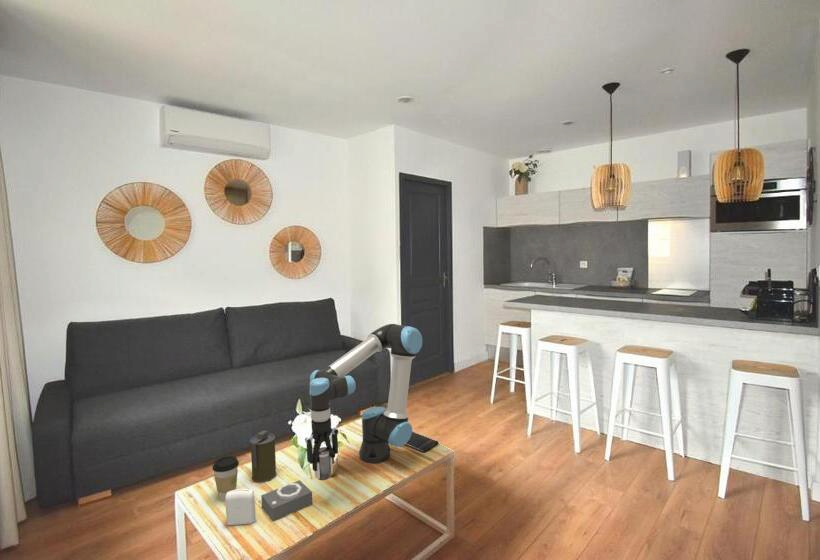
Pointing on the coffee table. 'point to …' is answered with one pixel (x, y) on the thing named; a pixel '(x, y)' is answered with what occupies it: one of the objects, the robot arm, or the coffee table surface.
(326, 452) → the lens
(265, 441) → the canister
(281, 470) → the coffee table surface
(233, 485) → the coffee cup
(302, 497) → the grey holder base
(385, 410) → the robot arm
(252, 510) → the photo printer
